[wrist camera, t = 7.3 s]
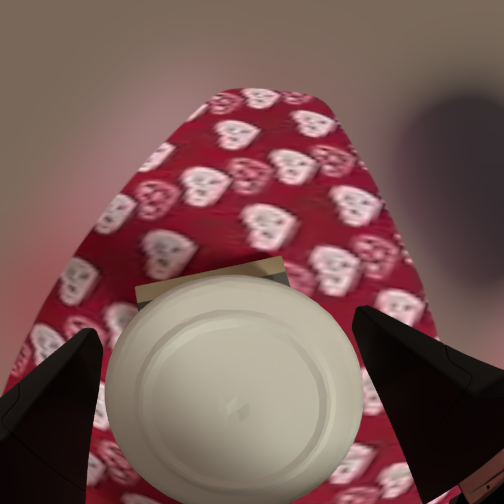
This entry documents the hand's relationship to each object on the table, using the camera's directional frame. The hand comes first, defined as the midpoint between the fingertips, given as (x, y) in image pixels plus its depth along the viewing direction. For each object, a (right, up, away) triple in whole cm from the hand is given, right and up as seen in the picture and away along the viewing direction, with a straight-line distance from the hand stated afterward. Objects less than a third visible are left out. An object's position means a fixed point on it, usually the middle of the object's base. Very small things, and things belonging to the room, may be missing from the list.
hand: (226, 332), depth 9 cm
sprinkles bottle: (-1, -4, +8) cm, 9 cm away
